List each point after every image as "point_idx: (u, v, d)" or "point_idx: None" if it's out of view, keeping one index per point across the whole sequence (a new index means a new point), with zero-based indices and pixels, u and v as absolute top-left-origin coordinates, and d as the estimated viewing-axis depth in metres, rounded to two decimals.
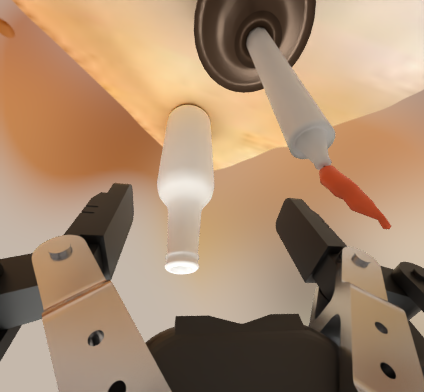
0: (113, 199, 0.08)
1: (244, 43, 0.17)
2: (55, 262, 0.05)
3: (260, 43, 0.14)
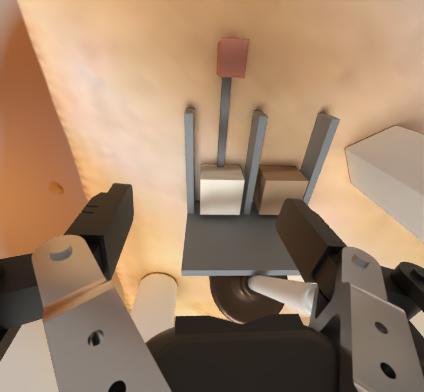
0: (113, 199, 0.08)
1: (246, 279, 0.25)
2: (55, 262, 0.05)
3: (262, 276, 0.22)
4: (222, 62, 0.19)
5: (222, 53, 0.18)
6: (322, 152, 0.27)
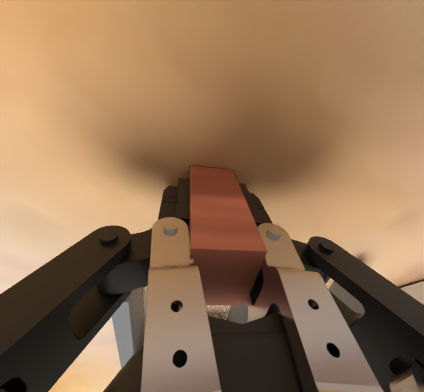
0: (186, 191, 0.09)
1: None
2: (172, 237, 0.06)
3: None
4: None
5: None
6: None
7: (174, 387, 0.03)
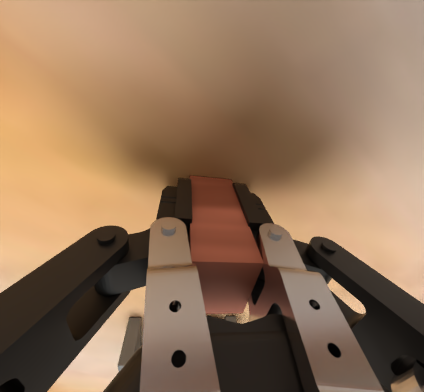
0: (185, 191, 0.09)
1: None
2: (170, 237, 0.06)
3: None
4: None
5: None
6: None
7: (173, 387, 0.03)
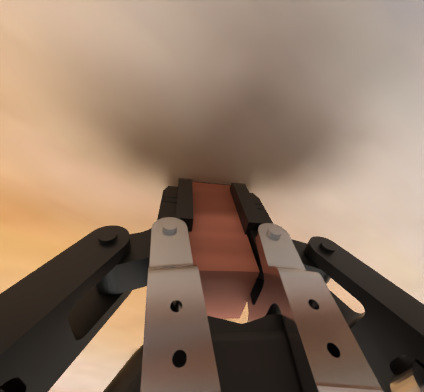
0: (185, 191, 0.09)
1: None
2: (171, 237, 0.06)
3: None
4: None
5: None
6: None
7: (174, 387, 0.03)
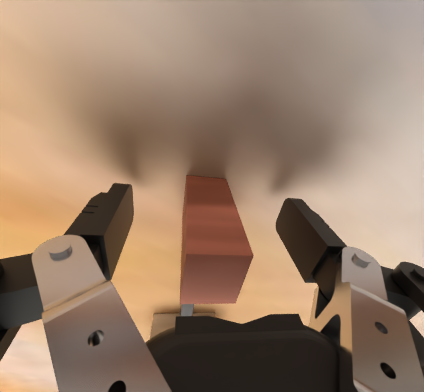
0: (113, 199, 0.08)
1: None
2: (55, 262, 0.05)
3: None
4: (185, 287, 0.08)
5: (186, 275, 0.07)
6: None
7: None
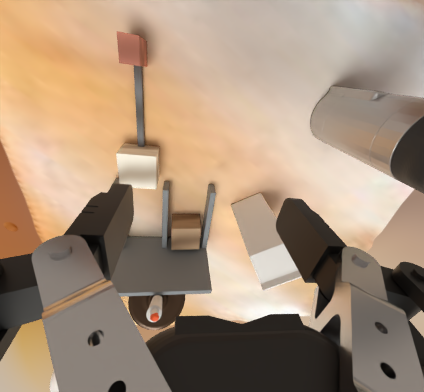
0: (113, 199, 0.08)
1: (151, 297, 0.37)
2: (55, 262, 0.05)
3: (156, 296, 0.35)
4: (119, 51, 0.24)
5: (118, 43, 0.23)
6: (209, 211, 0.41)
7: None
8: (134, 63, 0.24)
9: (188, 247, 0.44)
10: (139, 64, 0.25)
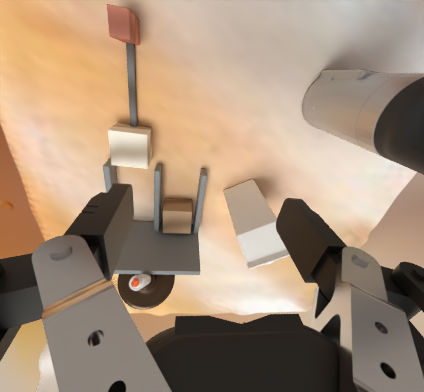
0: (113, 199, 0.08)
1: None
2: (55, 262, 0.05)
3: None
4: (109, 24, 0.24)
5: (108, 16, 0.24)
6: (200, 194, 0.41)
7: None
8: (124, 37, 0.25)
9: (179, 231, 0.44)
10: (129, 38, 0.25)
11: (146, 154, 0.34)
